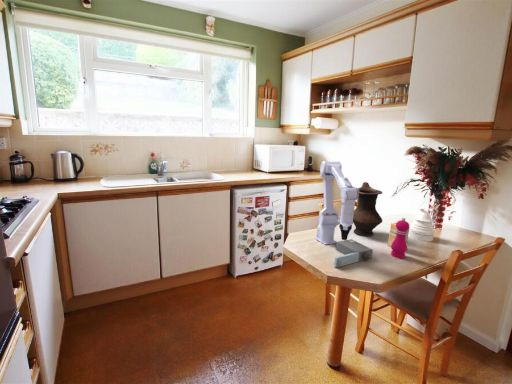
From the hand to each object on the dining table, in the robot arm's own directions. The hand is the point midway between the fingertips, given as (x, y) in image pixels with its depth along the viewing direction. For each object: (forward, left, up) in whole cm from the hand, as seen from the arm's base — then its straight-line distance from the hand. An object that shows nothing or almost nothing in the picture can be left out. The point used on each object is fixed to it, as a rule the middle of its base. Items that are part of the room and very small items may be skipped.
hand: (344, 239), depth 139 cm
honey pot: (-3, +65, -9) cm, 65 cm away
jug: (-21, +37, -9) cm, 43 cm away
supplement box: (+3, +36, -9) cm, 37 cm away
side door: (+8, -4, -9) cm, 13 cm away
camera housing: (0, +8, -9) cm, 12 cm away
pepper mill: (+10, +28, -9) cm, 31 cm away
